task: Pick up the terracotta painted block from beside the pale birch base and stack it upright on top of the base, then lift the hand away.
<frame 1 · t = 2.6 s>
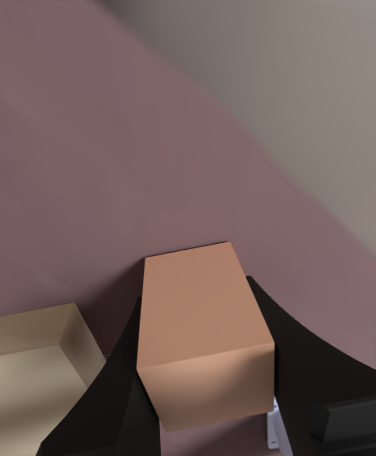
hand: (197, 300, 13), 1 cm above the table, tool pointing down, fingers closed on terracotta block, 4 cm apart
terracotta block: (194, 281, 15), on the table, touching gripper
birch base: (24, 375, 18), on the table
when the fingers open (6 cm above the table, at t = 6.1 s): terracotta block drops 2 cm, point 2 cm above the table.
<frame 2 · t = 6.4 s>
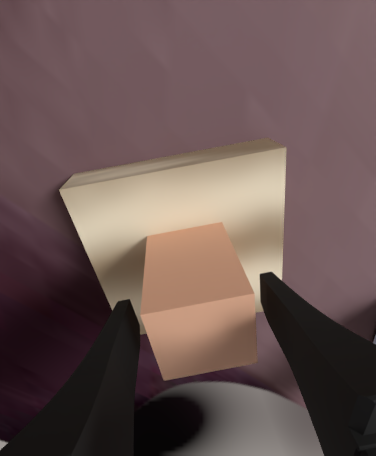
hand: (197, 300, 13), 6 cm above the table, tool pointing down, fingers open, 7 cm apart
terracotta block: (190, 259, 16), point 2 cm above the table
birch base: (186, 235, 19), on the table
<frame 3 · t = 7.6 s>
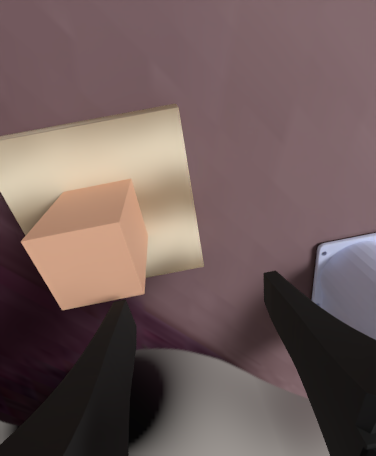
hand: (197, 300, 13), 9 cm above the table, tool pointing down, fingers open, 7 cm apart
terracotta block: (108, 215, 18), point 2 cm above the table, touching birch base
birch base: (114, 199, 20), on the table, touching terracotta block
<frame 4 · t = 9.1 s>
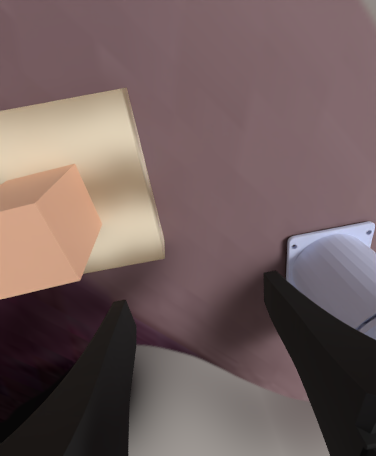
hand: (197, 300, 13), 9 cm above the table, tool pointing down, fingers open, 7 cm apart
terracotta block: (57, 203, 17), point 2 cm above the table, touching birch base
birch base: (72, 188, 20), on the table, touching terracotta block
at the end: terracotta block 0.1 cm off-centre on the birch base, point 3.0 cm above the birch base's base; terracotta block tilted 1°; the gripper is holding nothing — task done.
